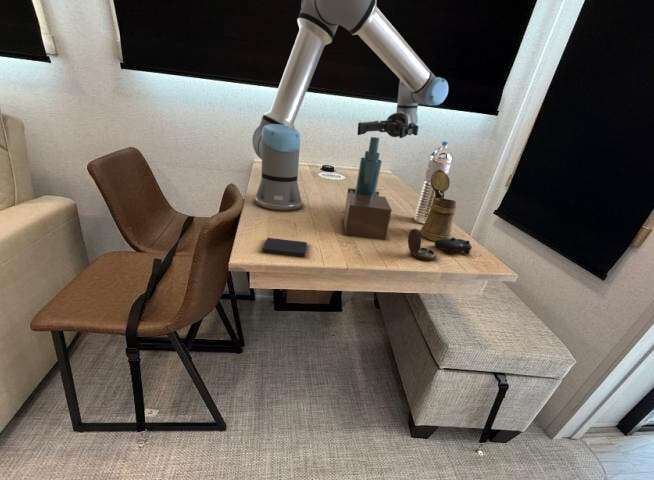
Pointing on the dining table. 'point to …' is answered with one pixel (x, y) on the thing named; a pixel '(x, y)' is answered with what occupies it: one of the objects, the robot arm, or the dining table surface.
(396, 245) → the dining table surface
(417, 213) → the water bottle
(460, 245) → the game controller
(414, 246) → the compass
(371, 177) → the bottle
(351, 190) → the drawer
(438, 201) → the wooden mug
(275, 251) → the mat
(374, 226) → the brown wooden box
